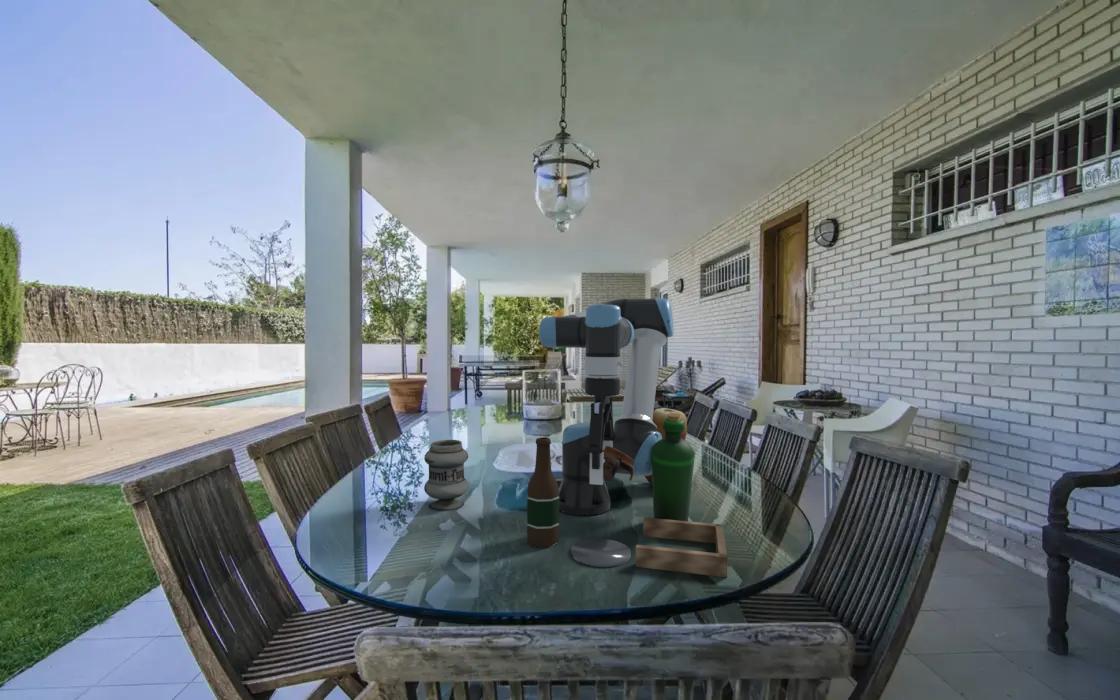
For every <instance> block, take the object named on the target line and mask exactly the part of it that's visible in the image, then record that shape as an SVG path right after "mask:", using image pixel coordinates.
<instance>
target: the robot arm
mask: <svg viewBox="0 0 1120 700" xmlns="http://www.w3.org/2000/svg"><path fill="white" fill-rule="evenodd" d="M673 318H674V317H673V310H672V305H671V302H670V301H669V299H667V298H663V297H661V298H658V297H654V298H653V297H652V298H617V299H613V300H608V301H604V302H601V303H599V304H593V305H588V306H587V308H586V310H584V311H583V310H582V311H581V312H580V311H578V312H576V313H571V314H568V315H564V316H555V315H554V316H547V317H543V318H542V319H541V320H540V323H539V328H538V329H539V330H538V335H539V336H538V337H539V340H540V343H541V345H542V346H544V347H545V348H554V349H557V348H560V349H561V348H565V349H566V348H569V349H570V348H571V349H572V348H575V349H576V348H577V349H578V348H579V349H580V348H581V349H585V357H584V374H585V375H586V376H587V377H586V378H585V379H584V393H585V395H589V396H594V402H591V404H590V417H589V418H590V420H589V421H586V422H580V423H574V424H573V423H572V424H570V425H568V426H566V427H565V428H564V429H563V431H562V442H561V445H562V447H561V448H562V449H561V450H562V455H561V458H562V459H561V460H562V466H561V467H562V469H561V474H562V475H561V482H560V484H559V486H558V488H559V510H561V511H564V512H566V513H565V514H567V513H570V514H569V515H572V514H578V515H577V516H584V515H586V516H596V515H595V514H597V515H602V514H604V512H605V513H607V512H608V511H609V510H610V509H611V497H610V495H609V491H608V487H607V485H606V484H607V483H606V481H605V480H604V479H603V463H605V459H603V450H604V449H605V447H606V446H610V447H613V448H615V449H617V450H619V451H621V452H622V453H624V454H626V455H627V456H629V457H630V458H631V459H633V460H634V464H633V469H634V474H633V477H638V476H642V477H645V476H649V475H651V474H652V451H651V448H652V447H653V446H654V444H655V443H656V442H658V441H659V440H661V439H662V435H661V434H660V433H659V432H657V426H656V425H655V424H654V423H653V421H652V420H653V411H654V410H655V409H654V408H655V399H656V391H657V383H658V374H659V373H658V372H659V368H660V367H659V365H660V358H661V350H662V349H661V348H662V347H664V346H665V345H666V344H667V341H668V338H671V337H673V336H674V319H673ZM630 344H631V346H630V351H629V353H630V354H629V358H628V359H629V360H628V368H627V374H626V375H627V376H626V380H625V389H624V394H623V402H622V408H621V415H620V417H618V418H617V419H616V420H615V421H614V413H613V412H614V411H613V406H614V405H613V401H614V399H613V397H615V396H618V395H620V393H621V380H620V377H618V376H619V375H620V374H621V366H623V365H624V363H623V361H620V360H621V349H623V348H625V347H627V346H629V345H630ZM589 468H590V479H589V478H588V477H587V476H588V473H589ZM615 474H622V475H629V476H631V474H630V472H629V471H628V470H626V469H623V468H622V466H619V468H618V470H617V472H616V473H615ZM561 511H560V512H561ZM606 511H607V512H606ZM564 512H563V513H564ZM601 513H602V514H601Z"/></svg>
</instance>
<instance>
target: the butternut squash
mask: <svg viewBox="0 0 1120 700" xmlns="http://www.w3.org/2000/svg"><path fill="white" fill-rule="evenodd" d="M669 413H677V414H680V415H681V418H680V419H683V421H684V426H685V430H684V431H683V432H682V439H683V440H685V441H686V439H687V431H688V420H687V416H686V414H685V413H684V412H683V411H680V410H677V409H672V408H667V407H661V408H656V409H654V411H653V420H652V421H653V423H654V424H655V425H656V426H657V432H659V433H660V434H661V435H662V439H663V438H665V430H663V428H662V427H663V423H664V419H666V418H668V415H667V414H669ZM644 478H645V479H646V481H647V482H648V483H649V484H650V485H651V486H652V487H653V483H652V474H651V475H649V476H644Z"/></svg>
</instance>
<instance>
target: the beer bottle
mask: <svg viewBox="0 0 1120 700" xmlns="http://www.w3.org/2000/svg"><path fill="white" fill-rule="evenodd" d="M535 444H536V450H535V451H536V452H535V465H534V472H533V474H532V475H531V477H530V478H529V481H528V485H527V490H526V491H527V492H526V494H527V495H526V501H527V502H526V534H527V536H526V537H527V544H528V545H529V544H531V545H530V546H532V545H533V546H532V547H534V546H536V547H535V548H537V547H543V548H551V547H550V546H552V545H553V544H555V543H557V542H558V543H559V539H560V511H559V484H558V482H557V478H556V477H555V476H554V474H553V472H552V471H553V470H552V459H551V458H552V457H551V456H552V455H551V444H552V442H551V438H550V437H547V436H544V437H542V436H541V437H537V438H536V440H535ZM552 547H553V546H552Z"/></svg>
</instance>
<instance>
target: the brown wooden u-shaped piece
mask: <svg viewBox="0 0 1120 700" xmlns="http://www.w3.org/2000/svg"><path fill="white" fill-rule="evenodd" d="M642 521H643V522H642V536H643V537H649V538H658V539H670V540H678V541H688V542H699V543H705V544H706V543H708V544H715V552H708V551H699V550H690V549H682V548H679V549H678V548H672V547H663V546H662V547H661V546H653V545H644V544H636V546H635V567H636V568H643V569H652V570H660V571H661V570H662V571H670V572H677V573H688V574H694V575H695V574H696V575H703V576H704V575H705V576H712V577H720V578H728V554H727V553H728V552H727V545H726V540H725V533H724V529H723V524H722V523H721V524H719V523H710V522H701V521H700V522H697V521H689V520H688V521H679V520H668V519H657V518H654V517H645V516H644V517H643V519H642Z"/></svg>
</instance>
